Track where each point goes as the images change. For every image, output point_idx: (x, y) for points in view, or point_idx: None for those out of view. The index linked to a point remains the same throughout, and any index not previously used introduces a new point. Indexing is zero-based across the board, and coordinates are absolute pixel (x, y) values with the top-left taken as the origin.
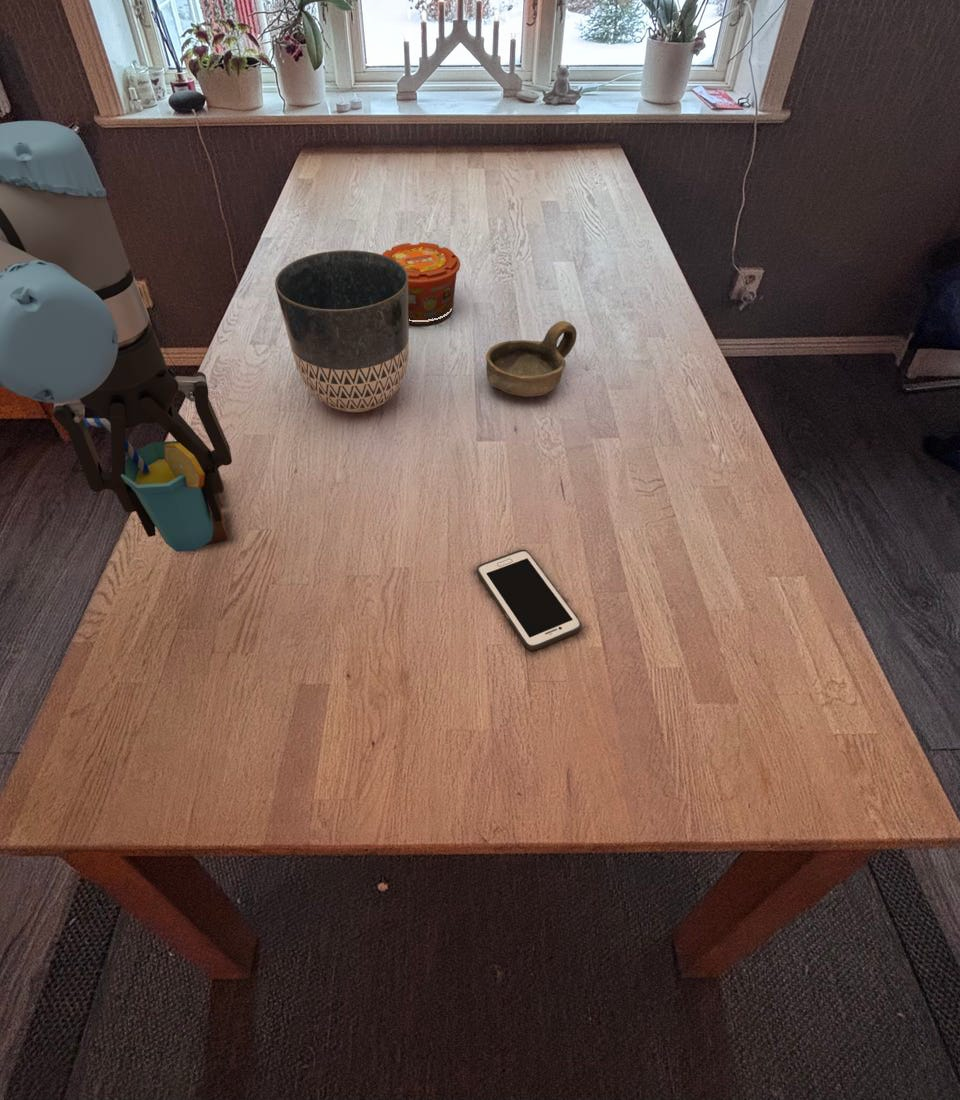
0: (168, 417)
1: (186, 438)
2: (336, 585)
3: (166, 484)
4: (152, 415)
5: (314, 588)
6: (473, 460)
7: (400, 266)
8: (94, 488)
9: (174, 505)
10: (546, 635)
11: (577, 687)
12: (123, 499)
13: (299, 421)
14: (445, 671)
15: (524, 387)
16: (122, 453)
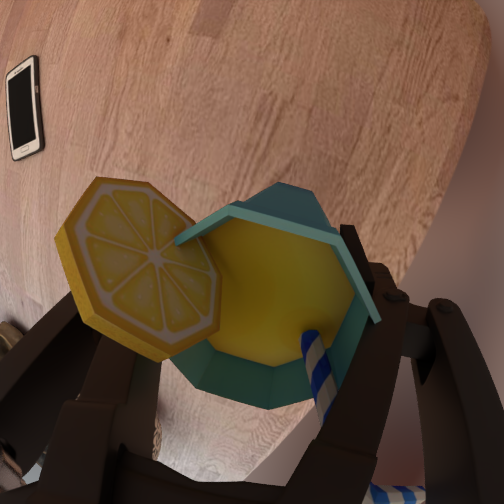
0: (54, 440)
1: (103, 354)
2: (157, 165)
3: (233, 211)
4: (97, 490)
5: (180, 168)
6: (42, 285)
7: (39, 464)
8: (451, 303)
9: (260, 200)
10: (22, 66)
11: (29, 26)
12: (385, 282)
13: (181, 400)
14: (91, 37)
15: (9, 332)
16: (353, 382)
